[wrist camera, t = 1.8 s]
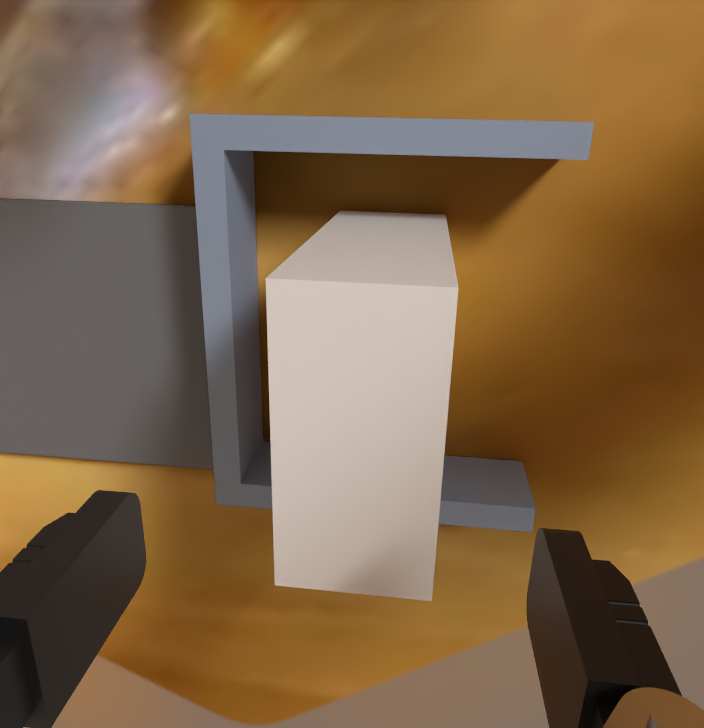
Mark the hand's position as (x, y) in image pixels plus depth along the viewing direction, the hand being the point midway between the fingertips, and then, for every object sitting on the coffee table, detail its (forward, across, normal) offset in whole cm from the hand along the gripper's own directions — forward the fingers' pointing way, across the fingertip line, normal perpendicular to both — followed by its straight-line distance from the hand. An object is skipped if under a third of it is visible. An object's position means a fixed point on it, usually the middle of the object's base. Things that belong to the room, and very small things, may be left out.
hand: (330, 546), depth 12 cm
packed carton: (+17, 0, 0) cm, 17 cm away
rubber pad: (+17, +15, +2) cm, 23 cm away
